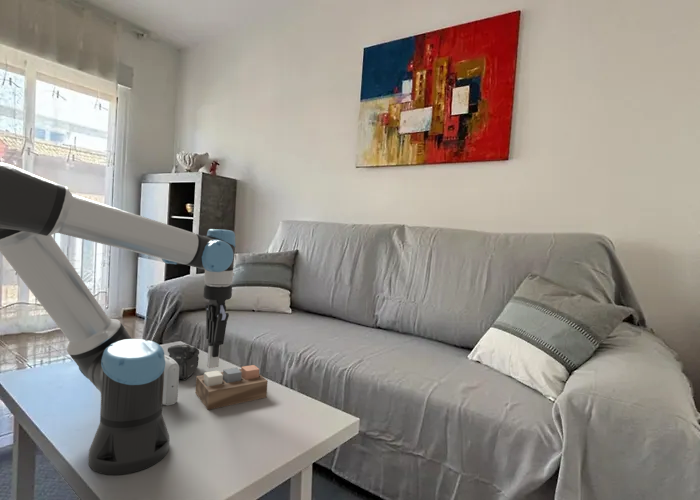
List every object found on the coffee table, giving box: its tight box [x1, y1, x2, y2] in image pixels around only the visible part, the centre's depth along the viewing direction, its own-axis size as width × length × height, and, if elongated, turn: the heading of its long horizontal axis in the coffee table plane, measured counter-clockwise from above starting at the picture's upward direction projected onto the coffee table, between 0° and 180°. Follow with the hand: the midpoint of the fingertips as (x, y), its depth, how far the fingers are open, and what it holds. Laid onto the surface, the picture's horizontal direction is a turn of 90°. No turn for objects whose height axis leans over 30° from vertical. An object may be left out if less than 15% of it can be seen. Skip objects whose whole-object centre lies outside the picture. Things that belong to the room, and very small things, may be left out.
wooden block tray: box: [195, 368, 268, 411], centre depth 117 cm, size 12×17×5 cm
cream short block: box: [203, 370, 223, 387], centre depth 113 cm, size 4×4×5 cm
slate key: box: [222, 367, 242, 383], centre depth 116 cm, size 4×4×5 cm
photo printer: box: [162, 354, 180, 406], centre depth 111 cm, size 10×4×12 cm, turn 56°
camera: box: [167, 343, 200, 380], centre depth 129 cm, size 13×10×10 cm
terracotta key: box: [240, 364, 260, 380], centre depth 120 cm, size 4×4×5 cm
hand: (212, 366), depth 113 cm, fingers closed
